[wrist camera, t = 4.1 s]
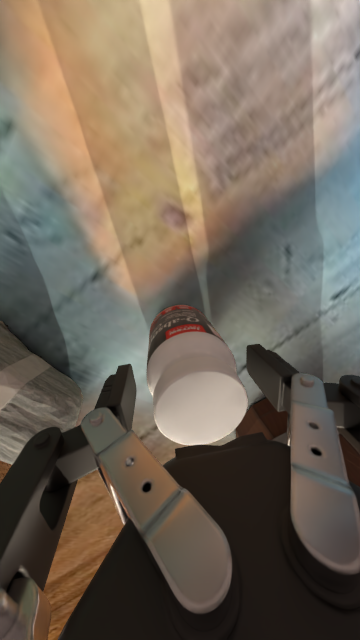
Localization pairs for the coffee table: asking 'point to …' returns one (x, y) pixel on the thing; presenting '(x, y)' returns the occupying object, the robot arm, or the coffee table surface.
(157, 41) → the coffee table surface
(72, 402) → the decorative stone
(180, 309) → the pill bottle
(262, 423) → the mug
